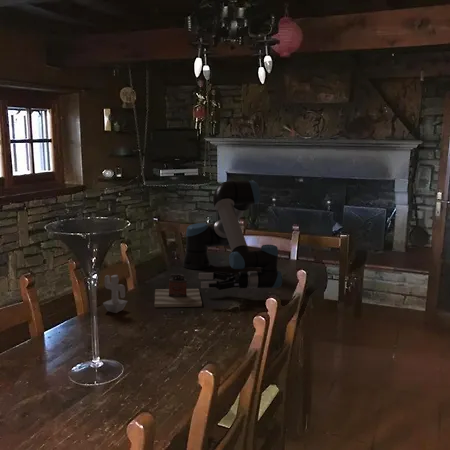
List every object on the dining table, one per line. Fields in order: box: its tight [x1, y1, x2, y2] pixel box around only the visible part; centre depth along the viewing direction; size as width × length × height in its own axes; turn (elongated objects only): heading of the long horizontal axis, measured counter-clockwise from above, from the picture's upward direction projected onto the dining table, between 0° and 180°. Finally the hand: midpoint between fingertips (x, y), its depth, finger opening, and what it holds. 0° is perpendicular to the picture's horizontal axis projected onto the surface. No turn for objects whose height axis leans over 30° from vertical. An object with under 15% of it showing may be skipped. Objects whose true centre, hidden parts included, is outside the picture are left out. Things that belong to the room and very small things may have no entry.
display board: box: [154, 288, 203, 308], centre depth 223 cm, size 20×20×2 cm
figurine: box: [102, 274, 128, 314], centre depth 206 cm, size 7×9×15 cm
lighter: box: [168, 273, 188, 297], centre depth 222 cm, size 8×3×10 cm, turn 88°
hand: (199, 280), depth 223 cm, fingers open, 13 cm apart
